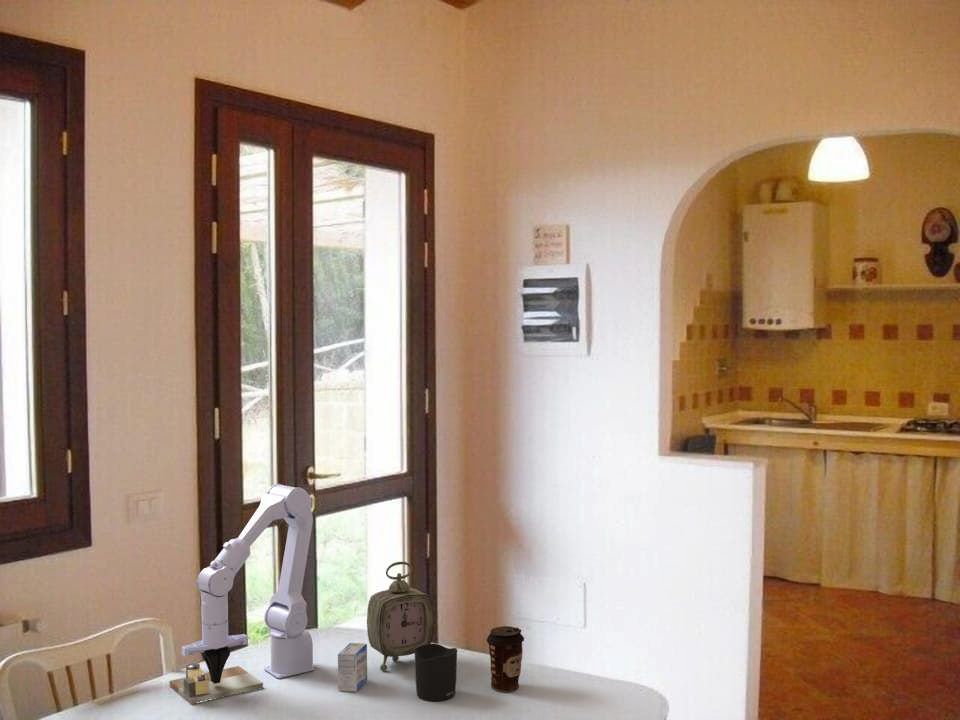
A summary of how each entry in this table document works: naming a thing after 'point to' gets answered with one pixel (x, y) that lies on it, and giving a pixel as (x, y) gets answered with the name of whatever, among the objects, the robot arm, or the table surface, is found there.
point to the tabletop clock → (399, 619)
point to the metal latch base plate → (218, 685)
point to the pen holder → (435, 672)
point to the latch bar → (197, 678)
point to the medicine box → (352, 667)
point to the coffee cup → (505, 657)
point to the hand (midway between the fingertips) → (215, 681)
